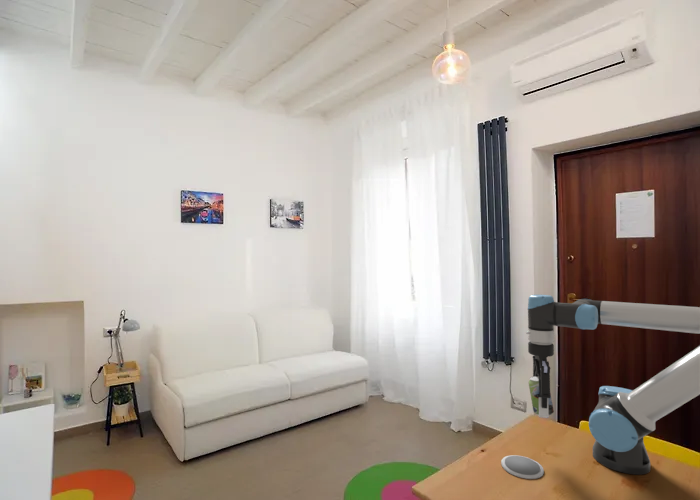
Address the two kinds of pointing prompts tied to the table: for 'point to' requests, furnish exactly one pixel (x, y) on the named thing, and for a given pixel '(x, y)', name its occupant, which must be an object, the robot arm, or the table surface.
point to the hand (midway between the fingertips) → (541, 412)
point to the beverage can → (535, 391)
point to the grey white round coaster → (522, 467)
